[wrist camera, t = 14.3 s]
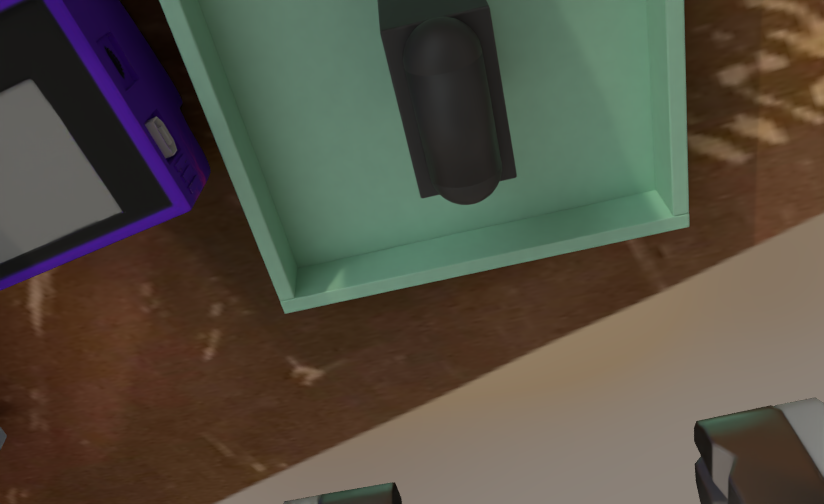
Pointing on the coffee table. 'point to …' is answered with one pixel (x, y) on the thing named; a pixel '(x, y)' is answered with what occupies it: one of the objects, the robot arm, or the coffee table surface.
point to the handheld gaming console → (85, 135)
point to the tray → (388, 150)
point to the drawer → (2, 437)
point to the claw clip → (449, 95)
